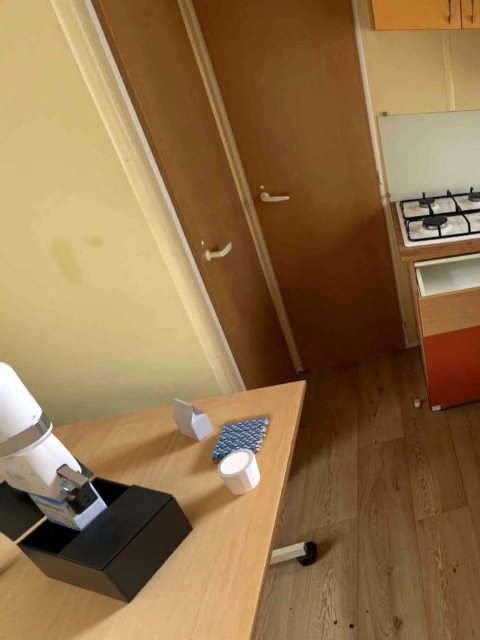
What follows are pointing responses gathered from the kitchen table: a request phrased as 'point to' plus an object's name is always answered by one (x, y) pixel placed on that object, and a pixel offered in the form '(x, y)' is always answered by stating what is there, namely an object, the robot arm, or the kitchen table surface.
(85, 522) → the medicine box
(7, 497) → the flap
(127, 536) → the black flap box
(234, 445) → the woven mat
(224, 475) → the white short cylinder
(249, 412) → the kitchen table surface
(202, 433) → the white gable carton
